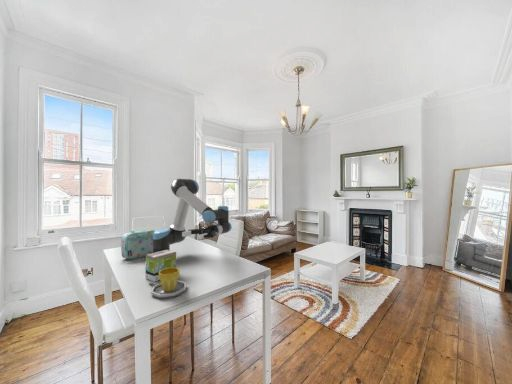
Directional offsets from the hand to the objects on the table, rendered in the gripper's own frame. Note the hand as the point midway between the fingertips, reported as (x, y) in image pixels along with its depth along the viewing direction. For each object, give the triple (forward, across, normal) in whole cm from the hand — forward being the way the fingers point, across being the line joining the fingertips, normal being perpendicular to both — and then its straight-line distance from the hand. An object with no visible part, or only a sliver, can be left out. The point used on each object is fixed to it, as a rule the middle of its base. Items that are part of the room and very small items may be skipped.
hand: (190, 235), depth 129 cm
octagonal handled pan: (+15, +4, -27) cm, 31 cm away
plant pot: (+15, 0, -26) cm, 30 cm away
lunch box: (-14, +71, -29) cm, 78 cm away
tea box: (+4, +21, -28) cm, 35 cm away
